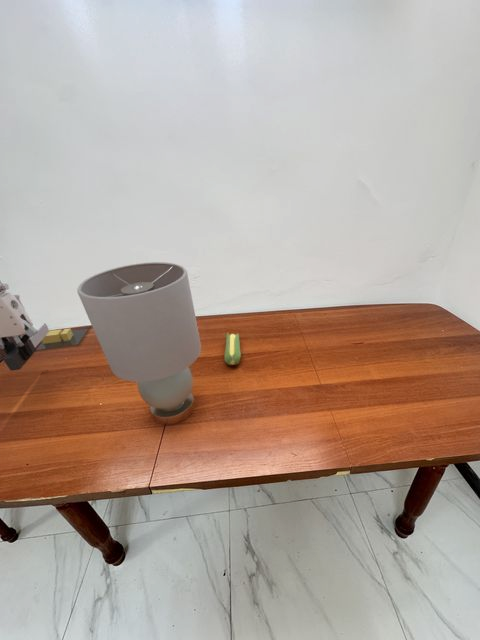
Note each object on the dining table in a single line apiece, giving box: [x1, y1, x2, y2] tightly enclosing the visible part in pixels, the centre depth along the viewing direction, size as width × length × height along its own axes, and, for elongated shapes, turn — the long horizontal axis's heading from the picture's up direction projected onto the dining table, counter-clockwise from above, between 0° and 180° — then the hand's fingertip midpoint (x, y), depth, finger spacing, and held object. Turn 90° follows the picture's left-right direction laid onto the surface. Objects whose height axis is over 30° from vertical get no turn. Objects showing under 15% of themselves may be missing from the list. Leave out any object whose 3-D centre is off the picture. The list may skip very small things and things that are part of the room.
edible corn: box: [223, 331, 242, 366], centre depth 96 cm, size 5×20×5 cm, turn 4°
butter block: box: [41, 328, 63, 344], centre depth 107 cm, size 6×4×3 cm, turn 100°
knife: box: [2, 322, 50, 372], centre depth 80 cm, size 2×20×4 cm, turn 10°
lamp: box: [76, 261, 202, 426], centre depth 67 cm, size 20×20×35 cm
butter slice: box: [61, 327, 73, 341], centre depth 108 cm, size 2×4×3 cm, turn 11°
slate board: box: [35, 328, 89, 351], centre depth 109 cm, size 14×12×2 cm
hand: (22, 357), depth 76 cm, fingers closed on knife, 2 cm apart
